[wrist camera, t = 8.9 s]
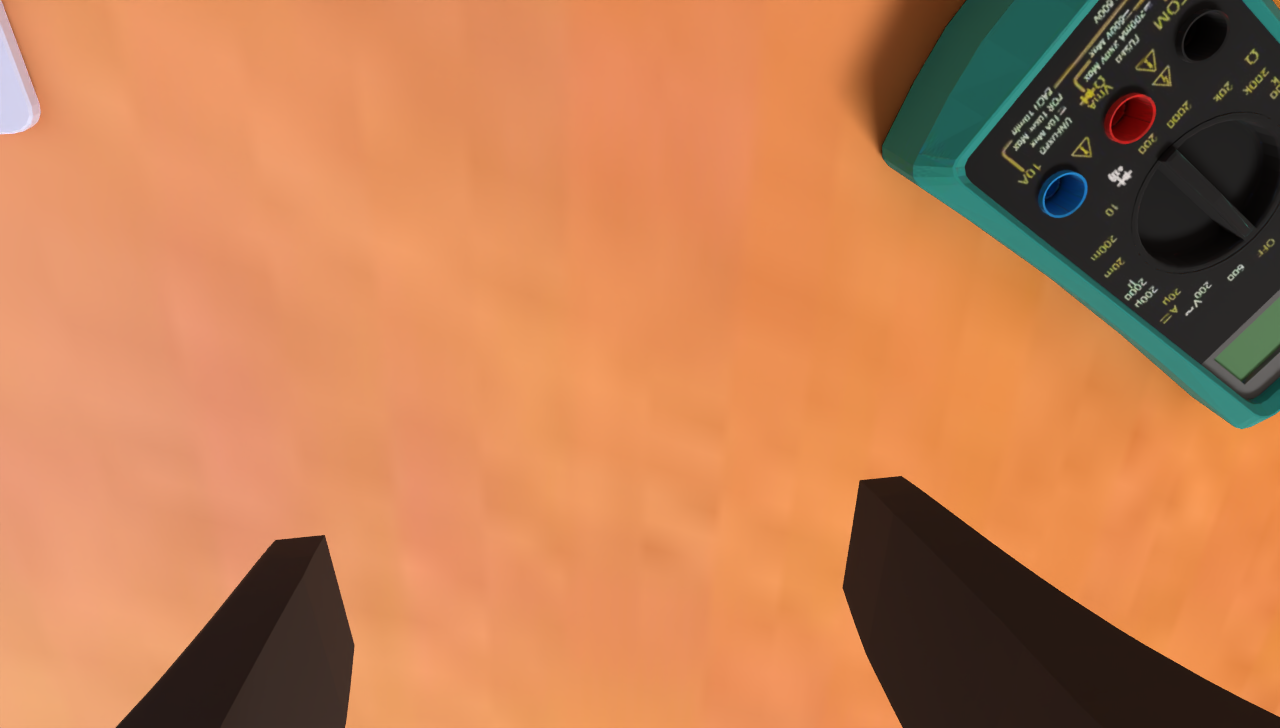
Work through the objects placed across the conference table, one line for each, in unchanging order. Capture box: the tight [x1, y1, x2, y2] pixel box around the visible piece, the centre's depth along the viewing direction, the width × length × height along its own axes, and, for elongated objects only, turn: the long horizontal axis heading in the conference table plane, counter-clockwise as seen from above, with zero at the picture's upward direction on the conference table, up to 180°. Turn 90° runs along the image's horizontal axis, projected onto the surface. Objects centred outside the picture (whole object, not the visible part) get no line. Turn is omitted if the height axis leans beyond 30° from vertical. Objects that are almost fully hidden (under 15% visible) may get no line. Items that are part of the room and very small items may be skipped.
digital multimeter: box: [882, 0, 1280, 429], centre depth 20 cm, size 7×15×3 cm, turn 55°
